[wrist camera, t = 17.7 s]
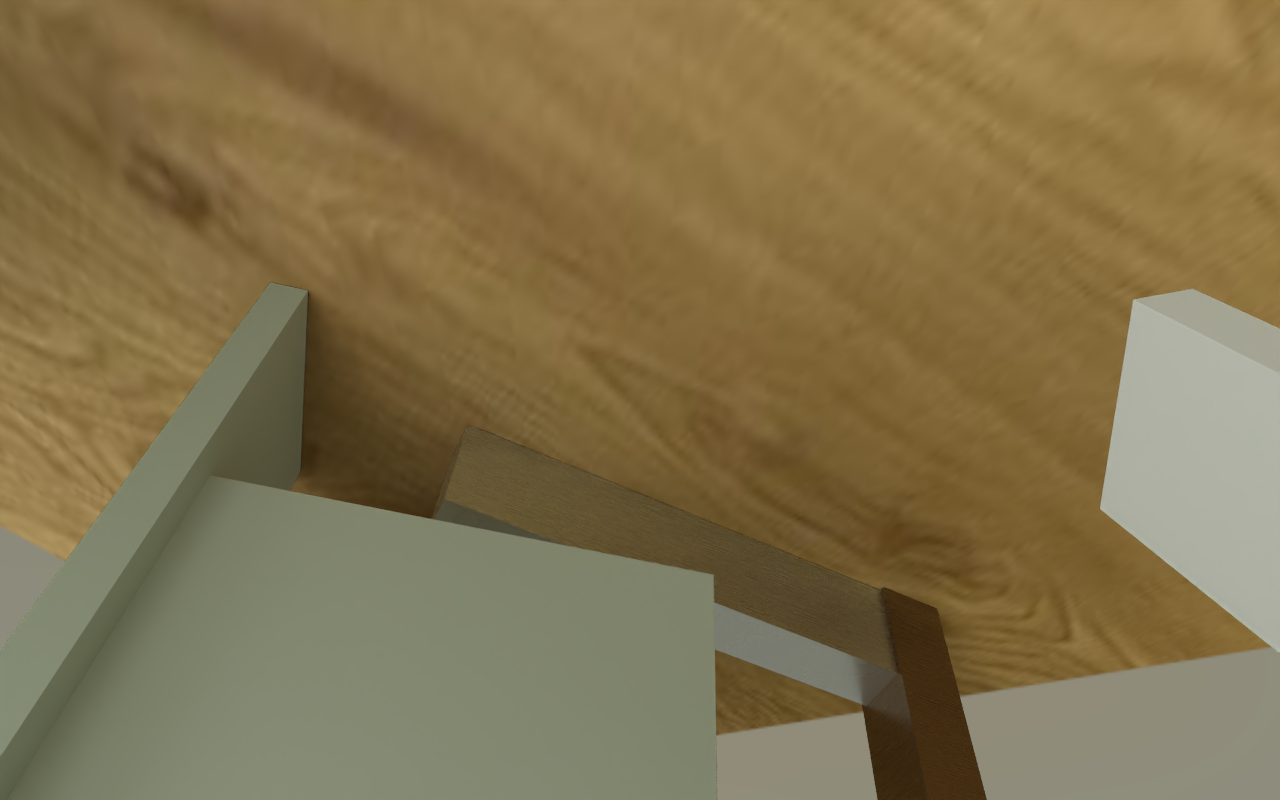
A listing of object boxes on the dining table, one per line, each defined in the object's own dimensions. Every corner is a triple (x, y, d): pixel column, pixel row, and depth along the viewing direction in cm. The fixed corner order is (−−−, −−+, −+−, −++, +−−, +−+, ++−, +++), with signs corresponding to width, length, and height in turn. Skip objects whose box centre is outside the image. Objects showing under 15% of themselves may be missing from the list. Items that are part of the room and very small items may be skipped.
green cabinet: (265, 532, 48) (-156, 1343, 25) (270, 282, 41) (-336, 1107, 17) (650, 607, 50) (606, 1437, 26) (724, 379, 42) (758, 1260, 18)
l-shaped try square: (446, 468, 46) (361, 727, 34) (469, 420, 44) (388, 674, 33) (901, 646, 51) (960, 925, 39) (936, 608, 49) (1009, 887, 38)
